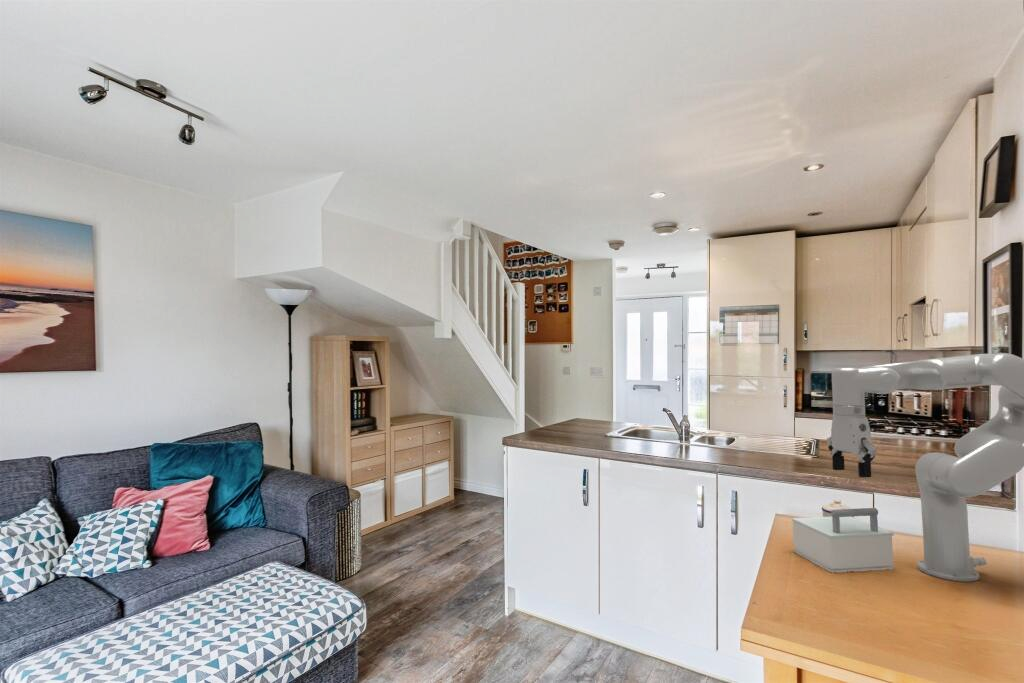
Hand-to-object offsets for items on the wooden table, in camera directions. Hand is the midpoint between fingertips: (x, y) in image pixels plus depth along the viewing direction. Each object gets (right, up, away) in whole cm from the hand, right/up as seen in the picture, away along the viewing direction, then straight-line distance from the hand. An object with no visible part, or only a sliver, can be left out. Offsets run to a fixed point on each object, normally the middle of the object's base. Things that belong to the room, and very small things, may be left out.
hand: (851, 473), depth 142 cm
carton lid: (0, -17, +5) cm, 18 cm away
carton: (0, -26, +5) cm, 27 cm away
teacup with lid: (+13, -27, +26) cm, 40 cm away
